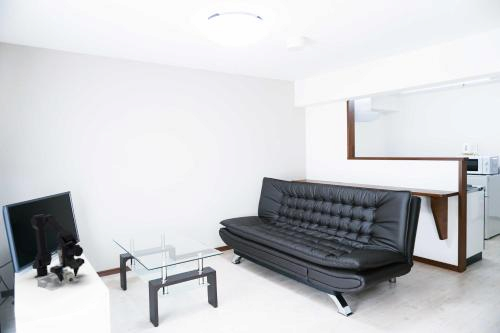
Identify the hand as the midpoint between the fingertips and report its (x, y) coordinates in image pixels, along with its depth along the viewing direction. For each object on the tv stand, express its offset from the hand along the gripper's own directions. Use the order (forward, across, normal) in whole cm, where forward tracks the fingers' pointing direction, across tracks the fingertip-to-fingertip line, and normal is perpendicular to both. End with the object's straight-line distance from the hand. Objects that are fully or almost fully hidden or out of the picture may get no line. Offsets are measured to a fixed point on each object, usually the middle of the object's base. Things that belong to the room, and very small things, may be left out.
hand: (68, 279), depth 205 cm
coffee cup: (+2, +16, +28) cm, 32 cm away
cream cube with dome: (+1, 0, +2) cm, 2 cm away
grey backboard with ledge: (+2, -4, +3) cm, 5 cm away
